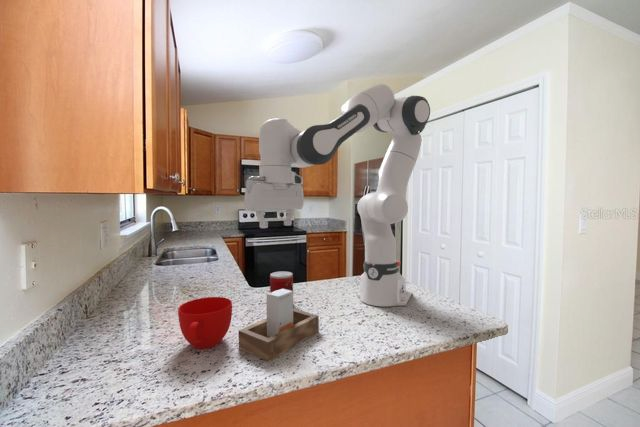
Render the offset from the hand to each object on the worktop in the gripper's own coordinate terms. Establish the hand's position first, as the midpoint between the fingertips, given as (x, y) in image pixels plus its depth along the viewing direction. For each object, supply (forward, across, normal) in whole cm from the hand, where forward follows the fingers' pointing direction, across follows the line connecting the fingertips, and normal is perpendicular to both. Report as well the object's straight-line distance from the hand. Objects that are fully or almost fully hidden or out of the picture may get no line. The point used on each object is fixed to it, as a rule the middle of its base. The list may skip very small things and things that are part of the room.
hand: (276, 226), depth 85 cm
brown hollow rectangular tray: (+29, -5, -6) cm, 30 cm away
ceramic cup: (+29, -19, +7) cm, 36 cm away
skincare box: (+29, -5, -6) cm, 30 cm away
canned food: (+29, +14, +12) cm, 35 cm away
